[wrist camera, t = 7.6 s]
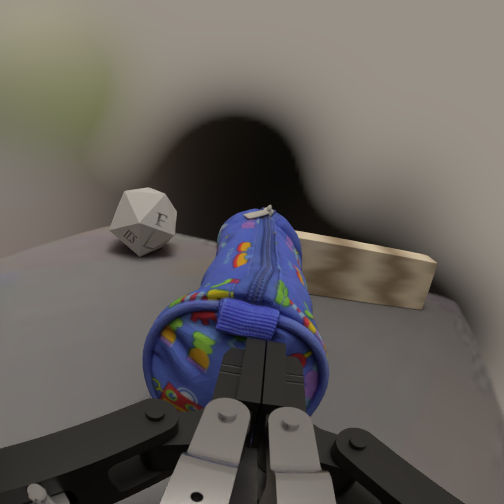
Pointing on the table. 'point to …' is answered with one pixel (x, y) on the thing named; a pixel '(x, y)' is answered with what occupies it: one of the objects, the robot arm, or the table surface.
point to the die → (144, 220)
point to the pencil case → (237, 314)
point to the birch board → (365, 271)
